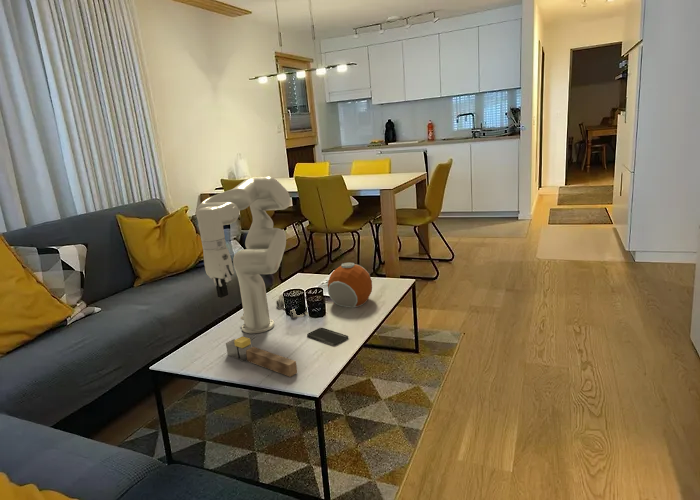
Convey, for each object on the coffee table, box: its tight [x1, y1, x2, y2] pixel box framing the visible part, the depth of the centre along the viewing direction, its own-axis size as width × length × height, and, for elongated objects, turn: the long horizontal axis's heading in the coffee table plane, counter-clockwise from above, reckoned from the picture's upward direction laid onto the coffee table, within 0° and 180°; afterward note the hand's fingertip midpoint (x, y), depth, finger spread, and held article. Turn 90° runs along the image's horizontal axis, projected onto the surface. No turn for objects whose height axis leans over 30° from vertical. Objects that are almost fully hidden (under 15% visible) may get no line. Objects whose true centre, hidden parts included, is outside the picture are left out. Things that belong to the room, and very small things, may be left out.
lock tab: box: [234, 336, 252, 348], centre depth 160 cm, size 4×4×2 cm
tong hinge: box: [225, 338, 253, 362], centre depth 162 cm, size 10×4×5 cm, turn 52°
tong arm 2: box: [250, 346, 298, 375], centre depth 153 cm, size 20×2×4 cm, turn 51°
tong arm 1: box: [246, 349, 295, 378], centre depth 152 cm, size 20×2×4 cm, turn 51°
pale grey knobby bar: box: [275, 293, 309, 319], centre depth 204 cm, size 11×24×5 cm, turn 29°
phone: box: [306, 327, 349, 347], centre depth 172 cm, size 8×1×15 cm
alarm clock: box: [327, 262, 373, 308], centre depth 202 cm, size 19×18×17 cm
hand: (223, 296), depth 161 cm, fingers closed
